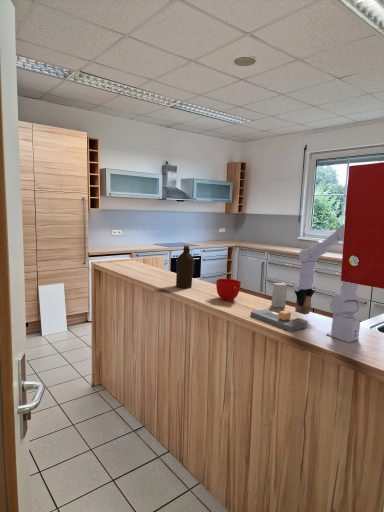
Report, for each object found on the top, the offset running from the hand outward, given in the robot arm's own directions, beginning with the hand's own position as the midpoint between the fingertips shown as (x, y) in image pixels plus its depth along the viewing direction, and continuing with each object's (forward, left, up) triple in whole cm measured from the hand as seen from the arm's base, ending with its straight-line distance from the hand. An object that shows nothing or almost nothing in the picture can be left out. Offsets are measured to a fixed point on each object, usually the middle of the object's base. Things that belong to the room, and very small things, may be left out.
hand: (303, 305), depth 150 cm
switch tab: (-1, +15, -4) cm, 16 cm away
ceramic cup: (+38, +10, -7) cm, 40 cm away
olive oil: (+73, +14, -7) cm, 75 cm away
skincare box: (+18, -6, -7) cm, 20 cm away
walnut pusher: (0, 0, -4) cm, 3 cm away
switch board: (+2, +15, -6) cm, 16 cm away
